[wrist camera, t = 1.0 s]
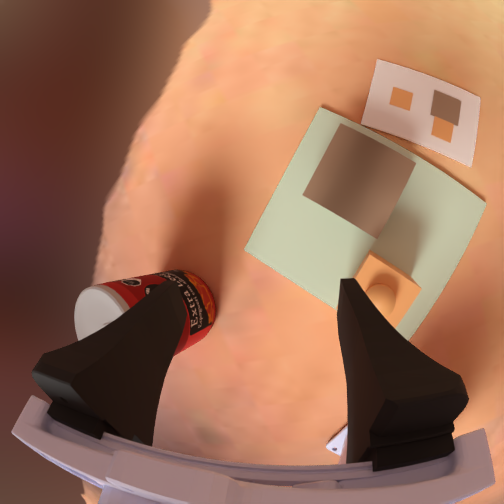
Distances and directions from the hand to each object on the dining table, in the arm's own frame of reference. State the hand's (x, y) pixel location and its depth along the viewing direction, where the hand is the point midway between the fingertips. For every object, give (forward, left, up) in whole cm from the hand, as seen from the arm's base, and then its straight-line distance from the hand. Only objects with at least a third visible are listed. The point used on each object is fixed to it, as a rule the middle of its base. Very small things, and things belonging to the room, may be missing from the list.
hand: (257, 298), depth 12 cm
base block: (0, -8, -11) cm, 14 cm away
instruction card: (-2, -17, -12) cm, 21 cm away
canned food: (+9, +10, -12) cm, 18 cm away
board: (-2, -5, -12) cm, 13 cm away
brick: (-5, -2, -11) cm, 13 cm away
